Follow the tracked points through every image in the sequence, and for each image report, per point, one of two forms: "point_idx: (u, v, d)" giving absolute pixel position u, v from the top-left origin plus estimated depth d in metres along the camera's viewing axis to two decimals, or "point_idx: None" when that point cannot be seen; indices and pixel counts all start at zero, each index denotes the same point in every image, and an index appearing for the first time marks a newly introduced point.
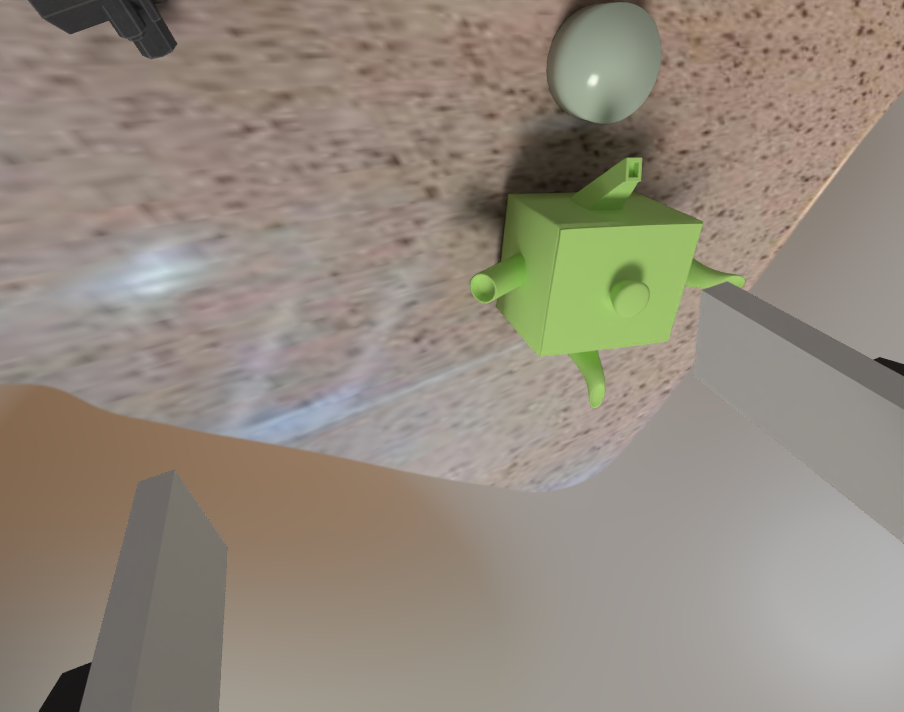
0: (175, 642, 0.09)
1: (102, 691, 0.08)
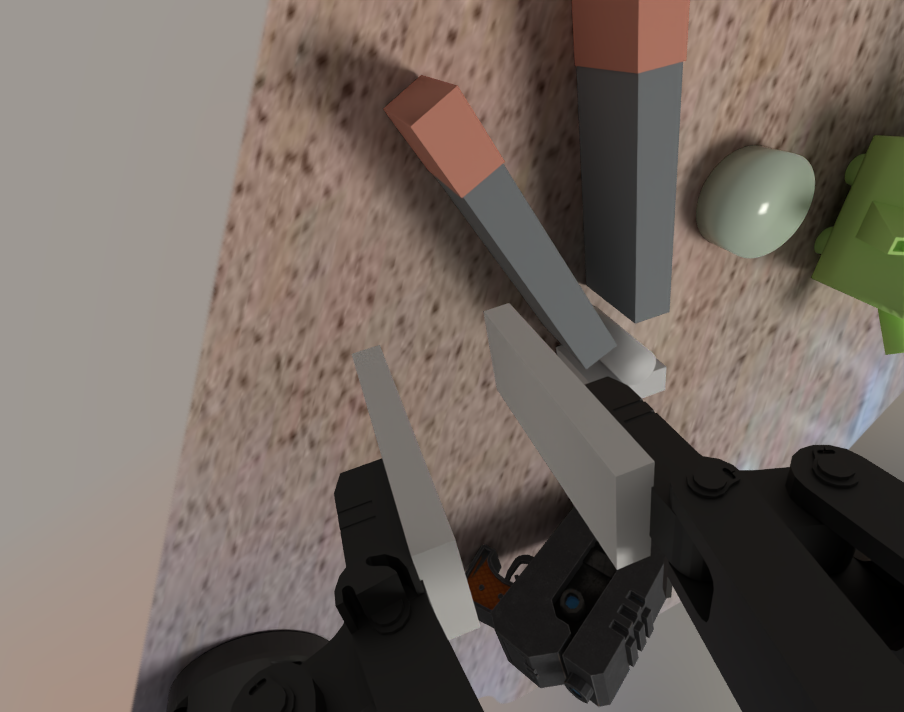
0: None
1: (399, 466, 0.10)
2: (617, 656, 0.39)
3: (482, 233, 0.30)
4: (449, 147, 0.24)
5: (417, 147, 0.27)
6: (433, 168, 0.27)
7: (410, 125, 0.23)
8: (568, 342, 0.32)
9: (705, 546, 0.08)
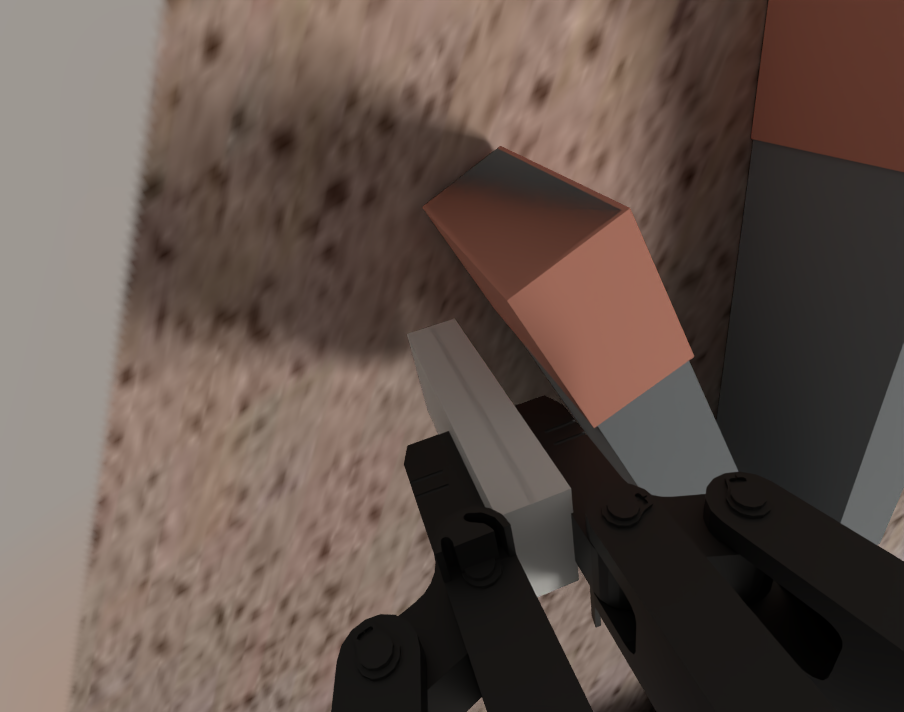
0: None
1: (471, 435, 0.11)
2: None
3: (592, 433, 0.16)
4: (586, 335, 0.10)
5: (494, 299, 0.13)
6: (522, 337, 0.13)
7: (505, 295, 0.09)
8: None
9: (623, 580, 0.08)
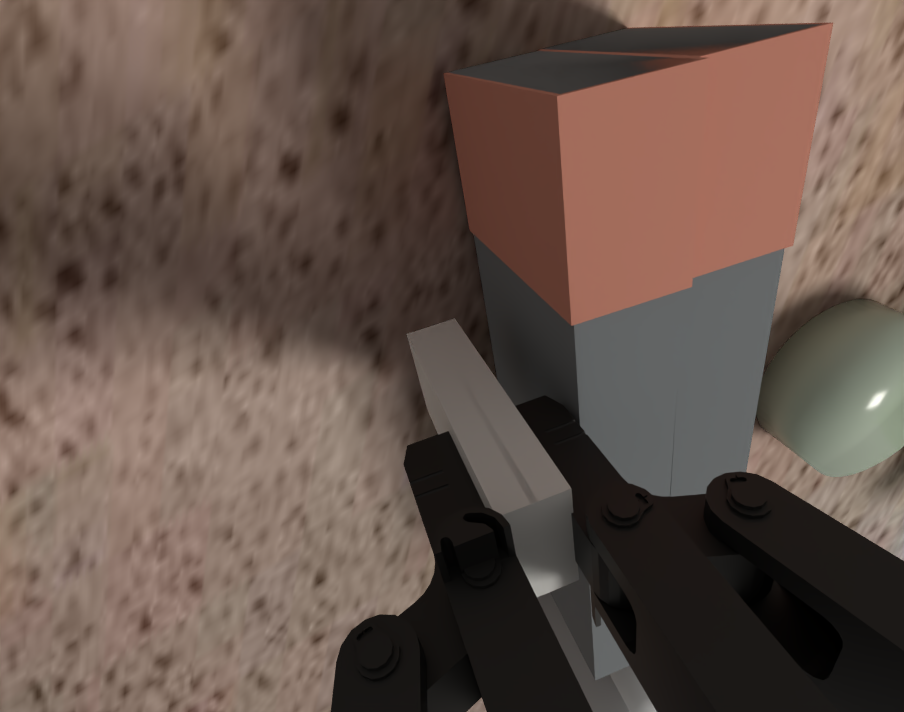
0: None
1: (471, 435, 0.11)
2: None
3: (530, 390, 0.15)
4: (609, 199, 0.09)
5: (498, 173, 0.11)
6: (509, 231, 0.12)
7: (555, 94, 0.08)
8: (594, 636, 0.16)
9: (623, 580, 0.08)
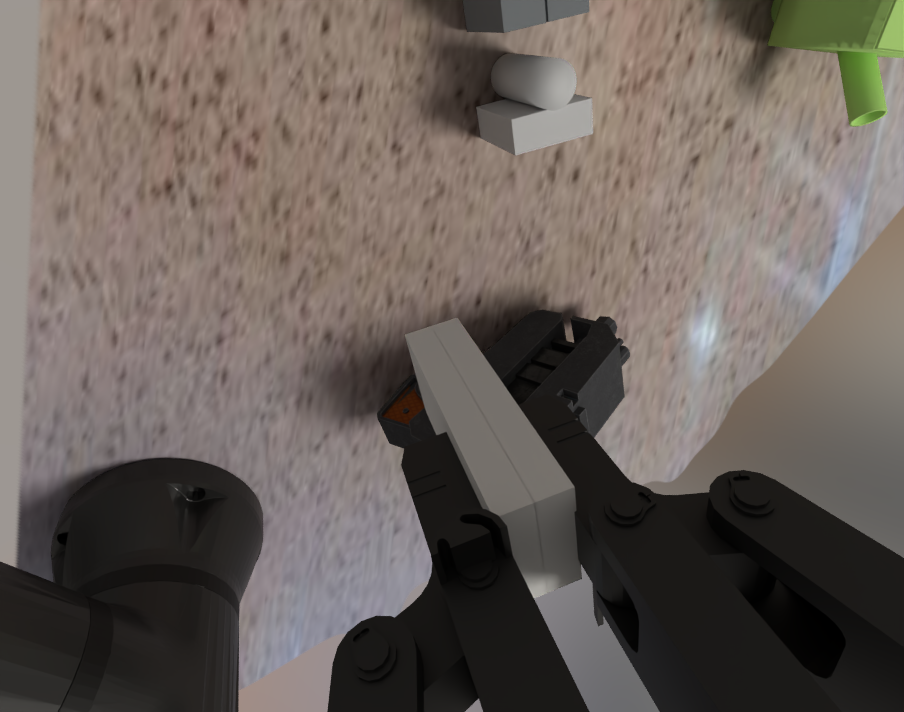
0: None
1: (468, 436, 0.11)
2: None
3: None
4: None
5: None
6: None
7: None
8: None
9: (626, 578, 0.08)
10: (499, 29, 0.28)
